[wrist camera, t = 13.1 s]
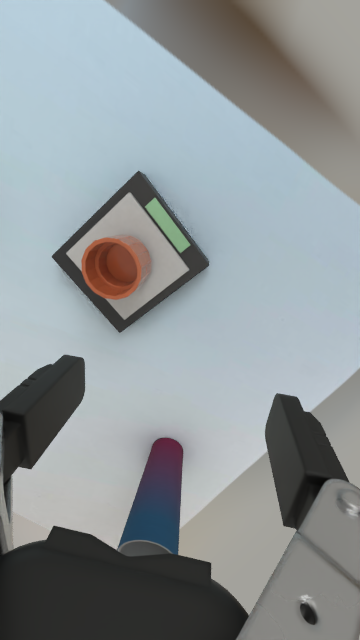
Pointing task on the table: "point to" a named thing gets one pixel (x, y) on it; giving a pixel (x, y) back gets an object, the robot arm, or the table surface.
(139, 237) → the scale
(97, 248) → the flower pot
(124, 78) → the table surface
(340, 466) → the robot arm
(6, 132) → the table surface
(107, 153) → the table surface
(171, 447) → the cup
